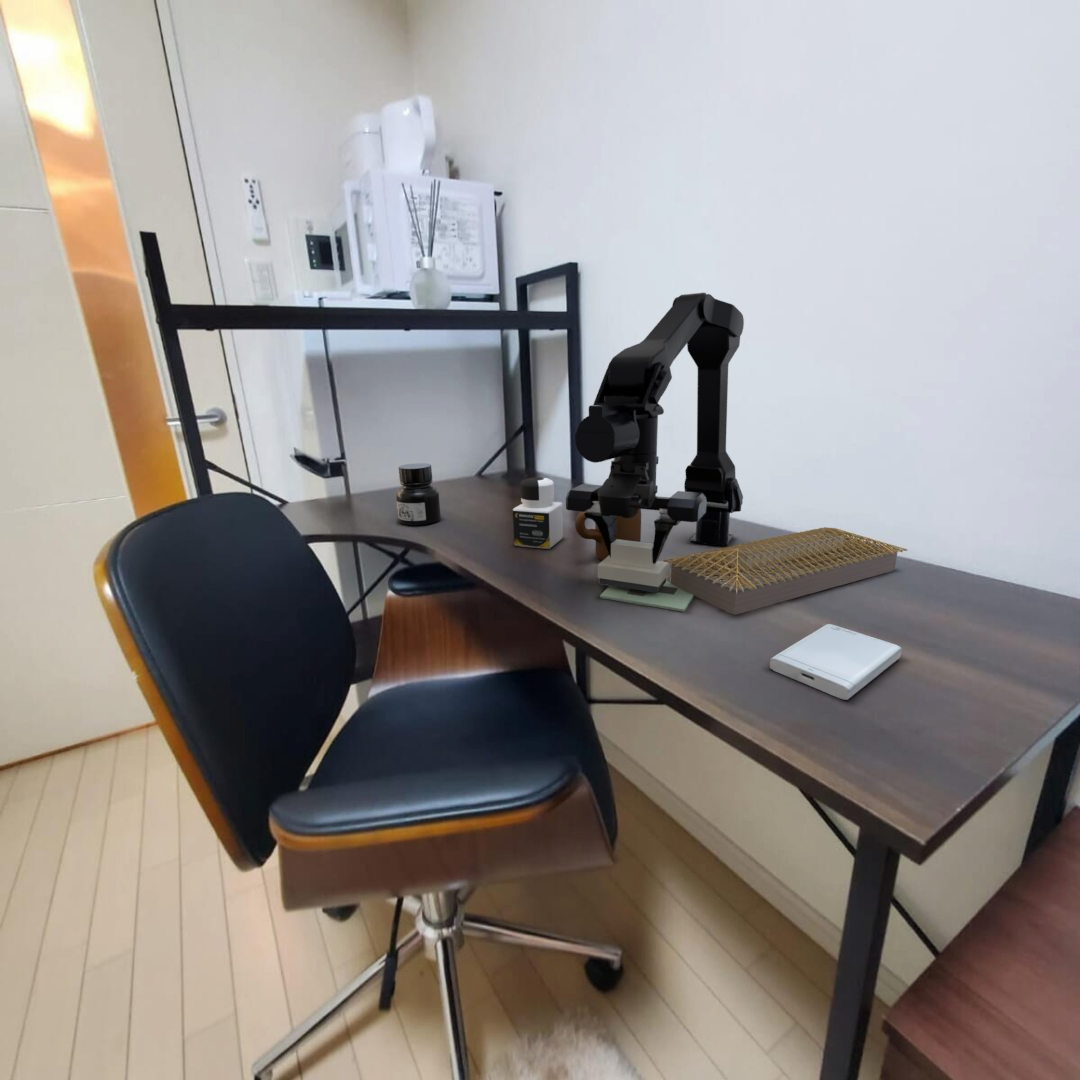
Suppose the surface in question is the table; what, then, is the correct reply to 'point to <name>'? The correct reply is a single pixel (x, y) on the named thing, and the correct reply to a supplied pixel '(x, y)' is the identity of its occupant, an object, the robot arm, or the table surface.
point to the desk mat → (652, 597)
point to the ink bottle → (417, 495)
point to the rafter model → (789, 548)
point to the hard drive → (836, 660)
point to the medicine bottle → (537, 515)
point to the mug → (624, 531)
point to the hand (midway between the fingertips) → (633, 560)
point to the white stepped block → (633, 567)
